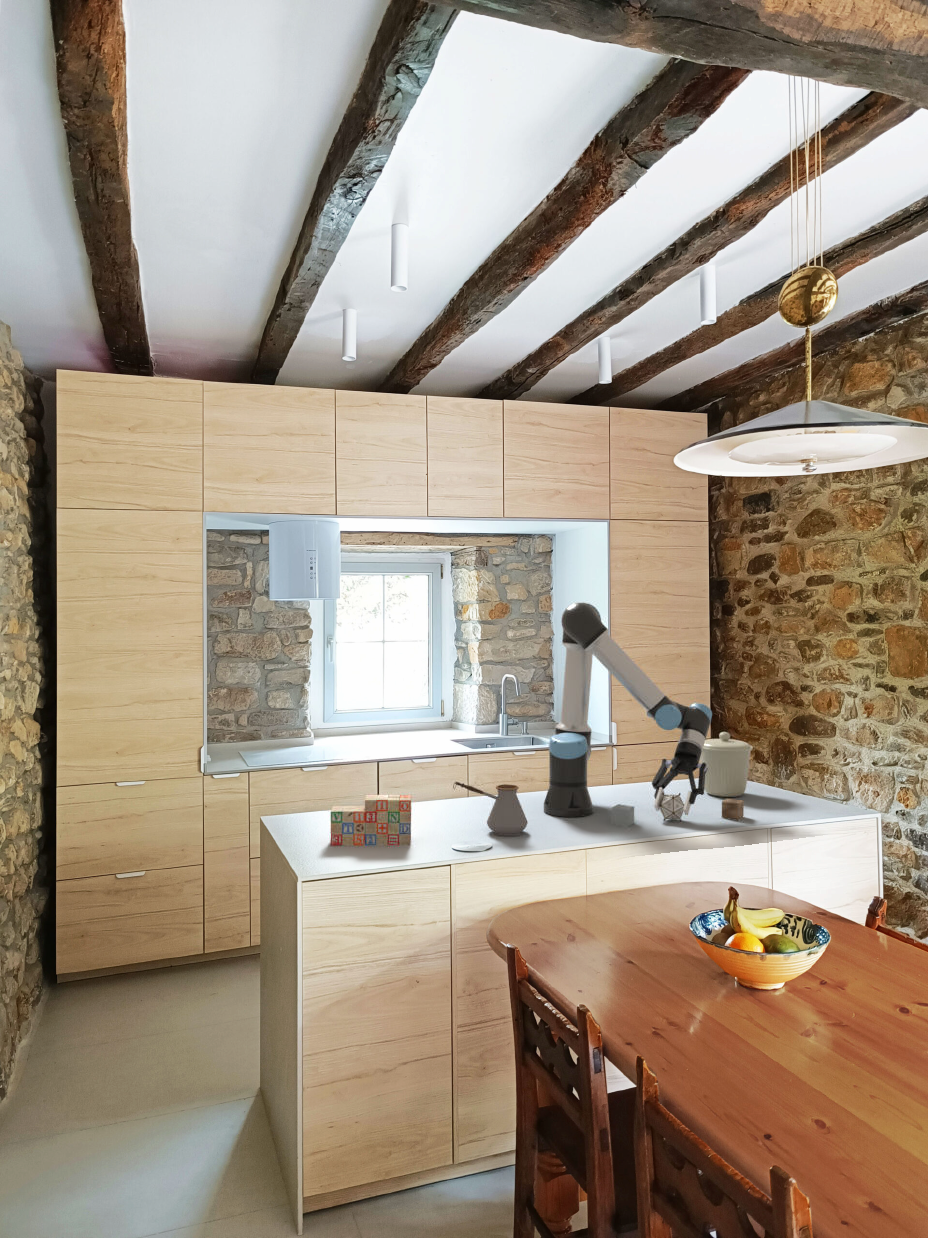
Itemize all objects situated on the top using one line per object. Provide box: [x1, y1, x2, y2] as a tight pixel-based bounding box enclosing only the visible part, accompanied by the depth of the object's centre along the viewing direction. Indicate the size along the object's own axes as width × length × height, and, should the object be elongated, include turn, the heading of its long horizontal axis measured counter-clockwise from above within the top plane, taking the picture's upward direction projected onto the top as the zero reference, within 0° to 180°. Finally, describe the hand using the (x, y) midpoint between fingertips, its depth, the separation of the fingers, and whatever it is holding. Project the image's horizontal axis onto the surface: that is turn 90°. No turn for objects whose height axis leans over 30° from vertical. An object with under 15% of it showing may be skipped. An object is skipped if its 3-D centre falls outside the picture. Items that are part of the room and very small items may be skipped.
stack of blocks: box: [330, 794, 412, 847], centre depth 226 cm, size 21×6×12 cm, turn 92°
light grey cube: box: [610, 803, 635, 828], centre depth 246 cm, size 5×5×5 cm
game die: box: [658, 792, 685, 823], centre depth 250 cm, size 9×8×10 cm
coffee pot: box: [452, 781, 529, 837], centre depth 235 cm, size 21×12×15 cm, turn 104°
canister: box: [699, 731, 754, 798], centre depth 285 cm, size 18×18×21 cm
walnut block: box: [721, 798, 745, 821], centre depth 253 cm, size 5×5×5 cm
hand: (670, 810), depth 246 cm, fingers closed on game die, 8 cm apart
